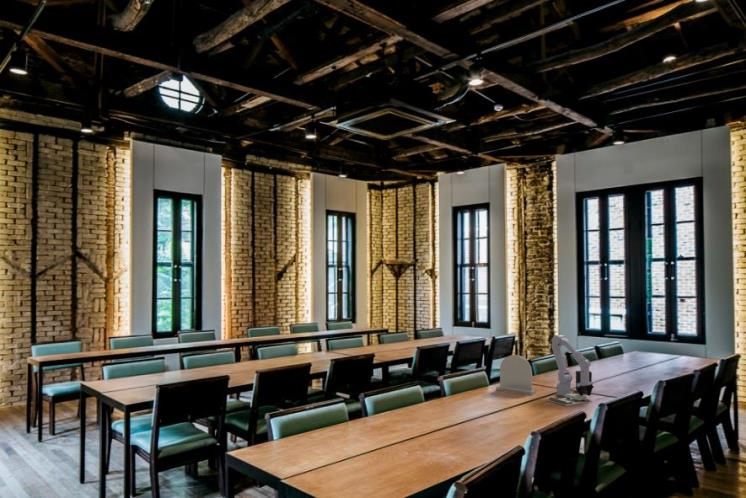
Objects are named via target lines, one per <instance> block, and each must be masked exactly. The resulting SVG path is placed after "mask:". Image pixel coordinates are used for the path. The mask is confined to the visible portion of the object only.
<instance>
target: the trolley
mask: <svg viewBox="0 0 746 498" xmlns="http://www.w3.org/2000/svg"><path fill="white" fill-rule="evenodd" d="M564 398H567V399H570V398H572V399H574V401H578V400H579V401H583V402H586V400H587V396H586V395H583V396H582V395H580V394H579V393H571V394H565V396H564Z"/></svg>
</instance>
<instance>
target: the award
mask: <svg viewBox="0 0 746 498" xmlns="http://www.w3.org/2000/svg"><path fill="white" fill-rule="evenodd" d="M532 369H533V368H532V366H531V363H530V362H529V361H528V359H526V358H525V357H524V356H522V355H518V354H512V355H508V356H506V357H505V358H504V359H503V360H502V361H501V363H500V366H499V386H496V387H495V390H496V391H498V390H499V391H500V392H505V391H506V393H512V392H513V393H512V394H518V393H519V394H520V395H525V394H526V395H527V396H534V395H535V394H536V393H537V391H536V389H535V390H534V389H533V370H532ZM499 391H498V392H499ZM526 395H525V396H526Z"/></svg>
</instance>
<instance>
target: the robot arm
mask: <svg viewBox="0 0 746 498" xmlns="http://www.w3.org/2000/svg"><path fill="white" fill-rule="evenodd" d="M562 346H564V347H565V349H567V350H568V351H569V352H570V353H571V354H572V357H573V358H574V360H575V361H576V362H577V363H578V366H579V371H581V382H580V383H577V386H576V385H575V388H576V387H577V389H578V391H577V392H578V395H582V396H584V392H585V391H584V387H582V386H586V389H587V392H586V395H587V396H588V397H591V394H592V392H591V391H593V388H594V387H595V386H594V382H593V381H592V382H589V371H590V367H591V361H590V359H587V358H586V357H585V356H584V355H583V354H582V351H579V350H576V349H575V348H574V346H573V345H572V343H571V342H570V340H569V339H568V338H567V337H566V336H565V334H560V335H553V337H552V338H551V350H552V352H553V355H554V359H555V362H556V365H557V368H558V373H557V378H558V382H557V384H556V395H557V396H562V397H565V394H572V389H571V383H572V381H573V376H572V374H571V372H570V371H569V370H568V369H567V366H566V364H565V360H564V356H563V354H562V352H561V351H562V350H561V348H562Z"/></svg>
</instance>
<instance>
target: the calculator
mask: <svg viewBox="0 0 746 498" xmlns="http://www.w3.org/2000/svg"><path fill="white" fill-rule="evenodd" d="M592 373H593V372H592V371H590V370H589V382H593V381H592V377H593V375H592ZM580 382H581V370H576V371H575V391H576V392H579V391H578V389H577V387H576V386H577V383H580ZM582 387H584V391H583V392H586V393H587V389H586V386H582ZM592 391H593V390H592ZM592 391H591V393H592Z"/></svg>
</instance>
